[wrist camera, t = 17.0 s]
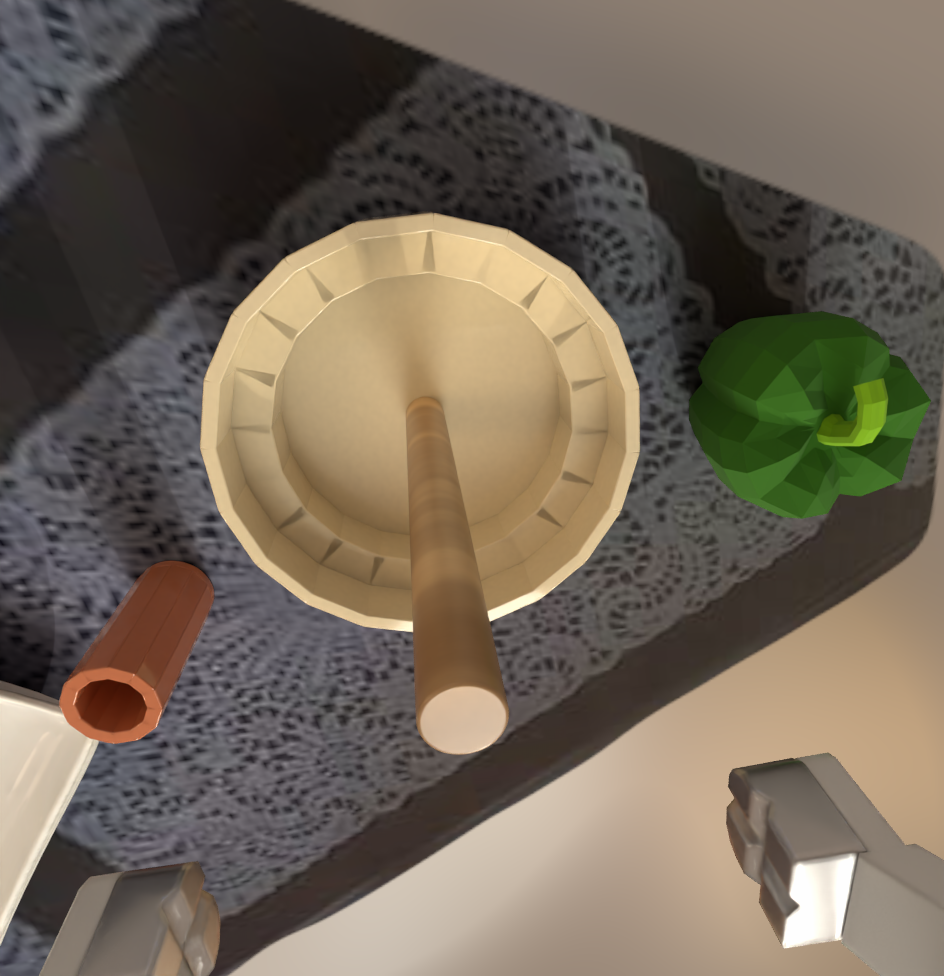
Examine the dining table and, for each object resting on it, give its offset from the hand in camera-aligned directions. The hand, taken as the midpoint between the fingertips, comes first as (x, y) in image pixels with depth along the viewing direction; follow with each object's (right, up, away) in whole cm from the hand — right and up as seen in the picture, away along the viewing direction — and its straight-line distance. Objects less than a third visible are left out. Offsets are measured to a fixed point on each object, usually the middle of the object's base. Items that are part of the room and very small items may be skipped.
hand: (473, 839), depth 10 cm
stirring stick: (-2, +9, +21) cm, 23 cm away
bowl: (-2, +9, +21) cm, 24 cm away
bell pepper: (+13, +11, +23) cm, 29 cm away
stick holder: (-15, 0, +24) cm, 29 cm away
